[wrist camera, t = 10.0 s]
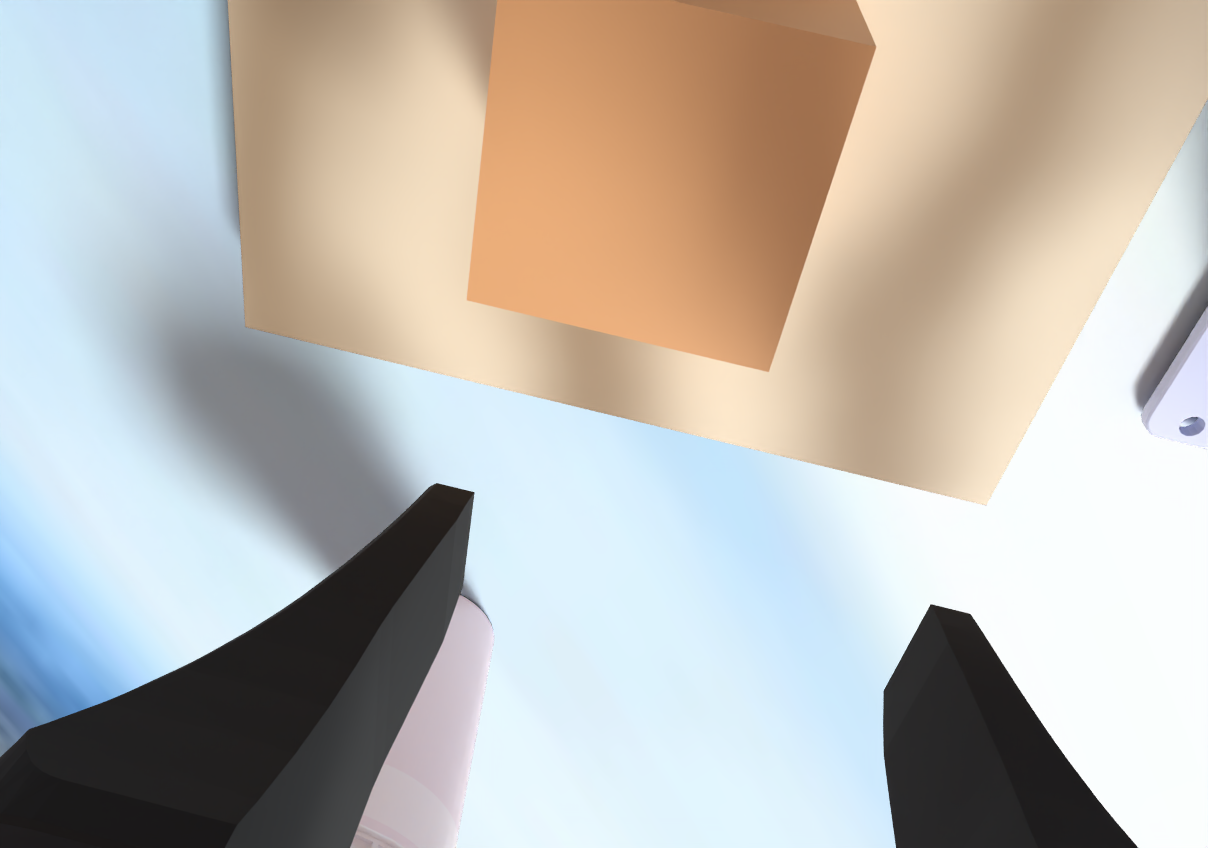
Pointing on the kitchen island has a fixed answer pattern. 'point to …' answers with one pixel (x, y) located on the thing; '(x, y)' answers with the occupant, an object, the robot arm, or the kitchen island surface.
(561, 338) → the base board
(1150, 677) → the kitchen island surface
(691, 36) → the block
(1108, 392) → the kitchen island surface
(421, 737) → the smoothie
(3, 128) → the kitchen island surface
